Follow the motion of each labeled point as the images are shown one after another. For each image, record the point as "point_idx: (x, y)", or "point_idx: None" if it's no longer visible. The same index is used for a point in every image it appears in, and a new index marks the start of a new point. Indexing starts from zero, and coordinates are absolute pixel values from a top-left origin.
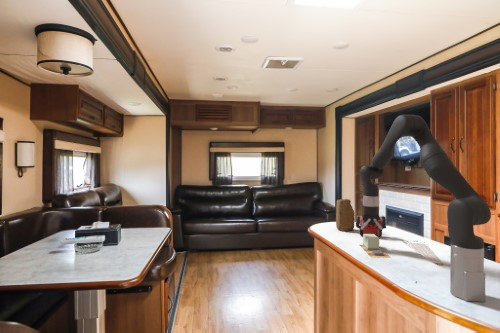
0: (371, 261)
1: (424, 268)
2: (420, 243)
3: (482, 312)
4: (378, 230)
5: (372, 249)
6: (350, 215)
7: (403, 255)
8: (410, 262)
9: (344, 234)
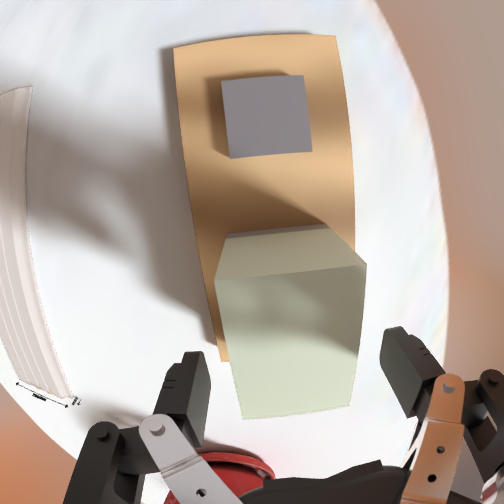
0: None
1: (52, 16)
2: (29, 384)
3: None
4: (198, 423)
5: (286, 229)
6: None
7: (76, 209)
8: (73, 75)
9: (332, 474)
